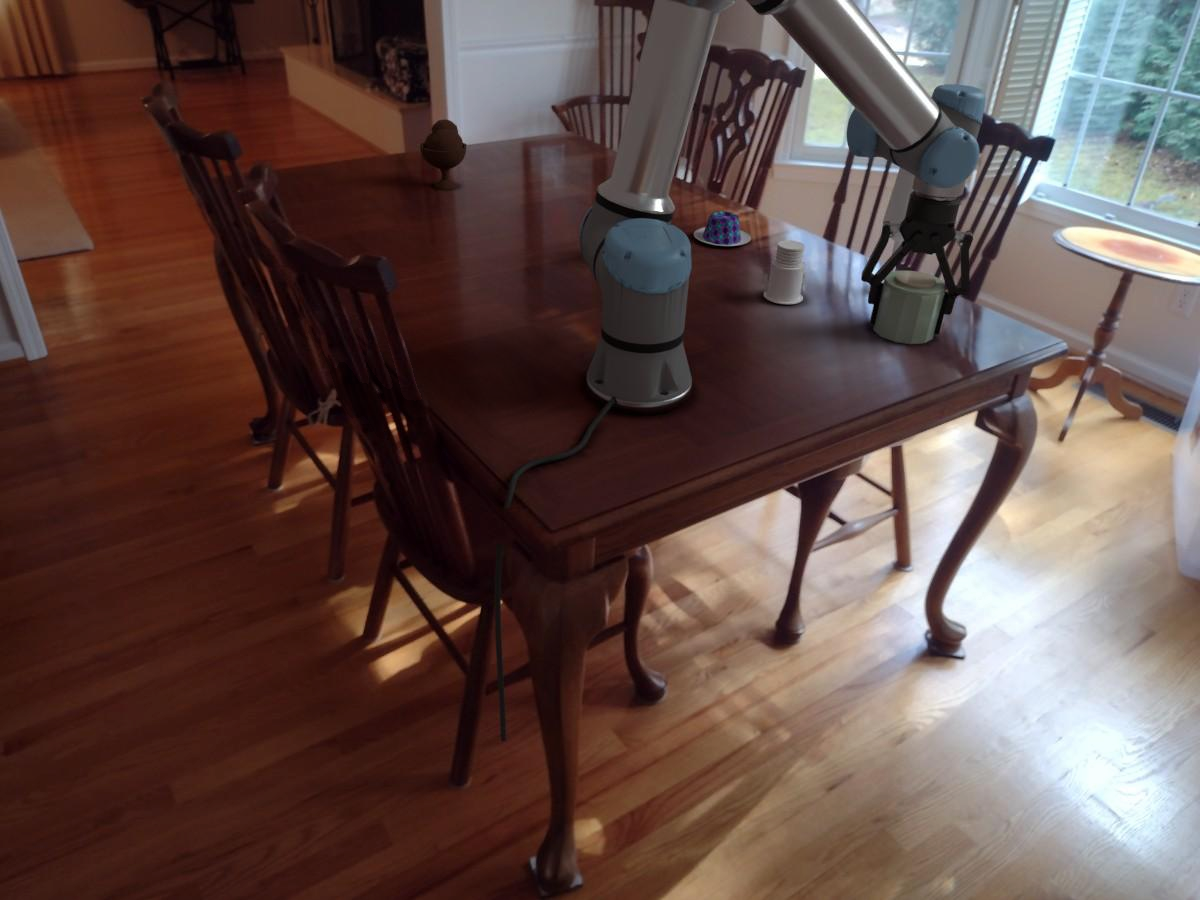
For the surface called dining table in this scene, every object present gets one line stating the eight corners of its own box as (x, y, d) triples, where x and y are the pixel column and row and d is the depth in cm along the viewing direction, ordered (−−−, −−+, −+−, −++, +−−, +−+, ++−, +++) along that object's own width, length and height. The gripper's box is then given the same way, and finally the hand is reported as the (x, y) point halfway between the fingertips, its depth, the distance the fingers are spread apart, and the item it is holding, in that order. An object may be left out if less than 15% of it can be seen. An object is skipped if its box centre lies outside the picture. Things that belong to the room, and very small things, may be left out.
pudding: (723, 226, 190) (725, 202, 187) (762, 242, 182) (765, 218, 179) (681, 236, 183) (683, 211, 181) (720, 253, 175) (723, 228, 173)
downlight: (770, 307, 153) (779, 253, 148) (754, 292, 159) (761, 239, 154) (811, 304, 155) (821, 250, 150) (794, 289, 161) (802, 236, 155)
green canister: (933, 347, 142) (947, 293, 137) (872, 338, 144) (884, 284, 139) (931, 324, 150) (945, 272, 144) (874, 316, 152) (886, 264, 147)
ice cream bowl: (417, 182, 210) (412, 117, 202) (461, 178, 214) (458, 114, 206) (429, 194, 202) (424, 127, 194) (475, 190, 206) (472, 124, 198)
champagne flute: (860, 287, 163) (888, 156, 150) (890, 283, 165) (920, 154, 152) (882, 301, 157) (913, 166, 144) (912, 297, 160) (945, 164, 146)
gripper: (1010, 195, 135) (972, 327, 147) (863, 179, 140) (838, 308, 152) (1015, 209, 128) (975, 345, 141) (861, 192, 134) (835, 325, 146)
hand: (904, 326), depth 146 cm, fingers closed on green canister, 10 cm apart
